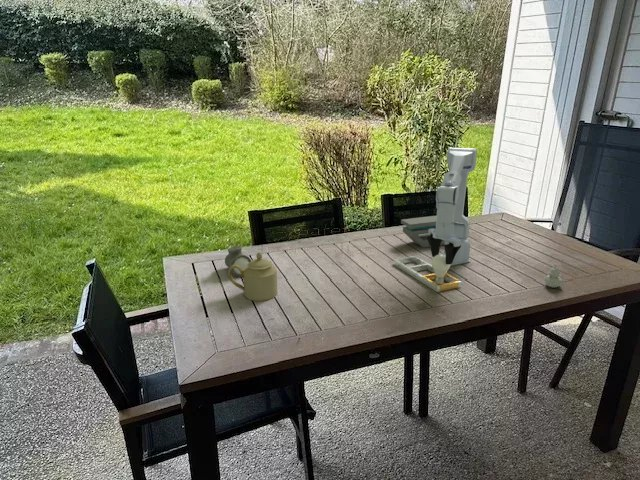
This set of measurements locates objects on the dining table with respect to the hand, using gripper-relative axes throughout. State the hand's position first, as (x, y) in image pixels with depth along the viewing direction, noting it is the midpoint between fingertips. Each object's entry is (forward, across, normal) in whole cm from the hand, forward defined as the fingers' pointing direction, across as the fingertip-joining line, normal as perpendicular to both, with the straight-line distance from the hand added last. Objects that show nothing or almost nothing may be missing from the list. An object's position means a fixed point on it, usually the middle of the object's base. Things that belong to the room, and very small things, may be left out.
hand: (441, 260), depth 152 cm
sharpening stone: (+9, -38, +23) cm, 45 cm away
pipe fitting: (+9, -41, -62) cm, 75 cm away
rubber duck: (+9, +17, +34) cm, 39 cm away
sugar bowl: (+9, -18, -61) cm, 64 cm away
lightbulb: (+9, 0, 0) cm, 9 cm away
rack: (+9, -9, 0) cm, 13 cm away
